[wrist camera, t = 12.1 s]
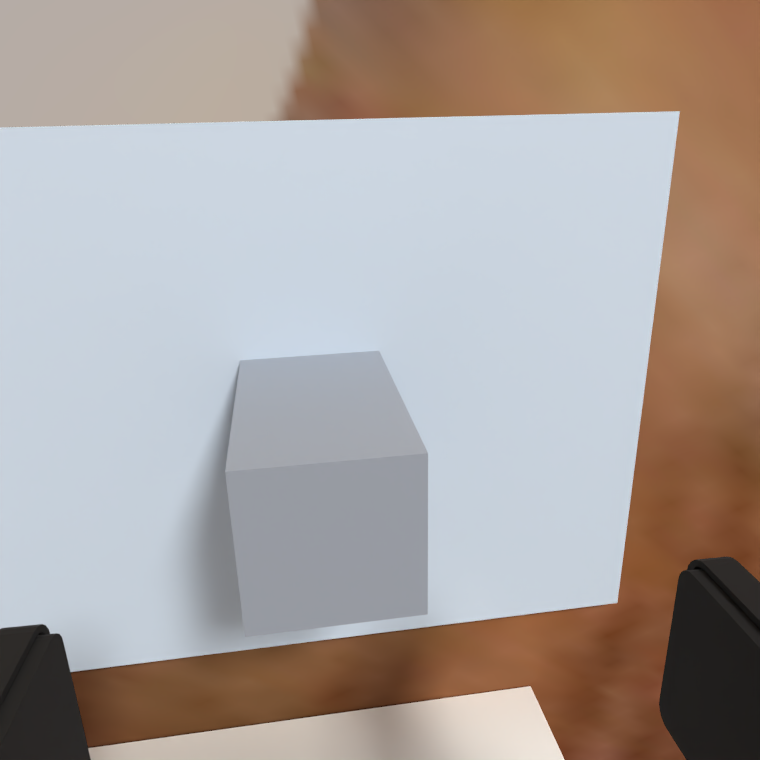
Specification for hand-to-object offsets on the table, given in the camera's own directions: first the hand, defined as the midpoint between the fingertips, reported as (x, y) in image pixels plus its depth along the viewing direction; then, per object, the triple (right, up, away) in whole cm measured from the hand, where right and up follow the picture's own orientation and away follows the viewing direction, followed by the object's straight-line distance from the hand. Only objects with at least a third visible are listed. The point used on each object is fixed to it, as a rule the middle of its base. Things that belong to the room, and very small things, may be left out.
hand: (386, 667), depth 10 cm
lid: (-2, +4, +9) cm, 10 cm away
